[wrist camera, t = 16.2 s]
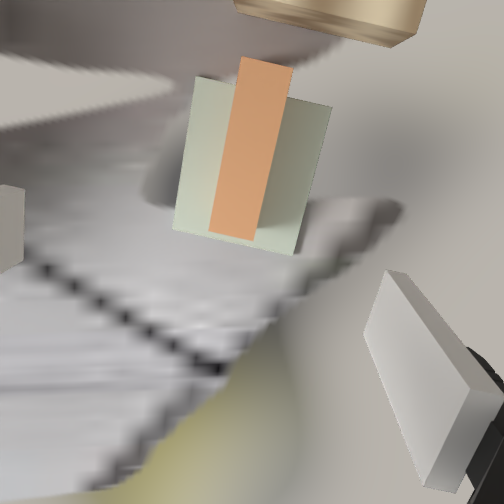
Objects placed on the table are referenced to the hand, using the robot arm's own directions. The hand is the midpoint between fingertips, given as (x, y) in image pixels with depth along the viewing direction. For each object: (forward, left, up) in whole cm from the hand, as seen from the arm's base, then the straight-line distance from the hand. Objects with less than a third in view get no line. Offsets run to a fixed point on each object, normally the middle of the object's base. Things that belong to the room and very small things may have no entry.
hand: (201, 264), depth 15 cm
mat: (0, 0, -24) cm, 24 cm away
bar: (0, +2, -24) cm, 24 cm away
